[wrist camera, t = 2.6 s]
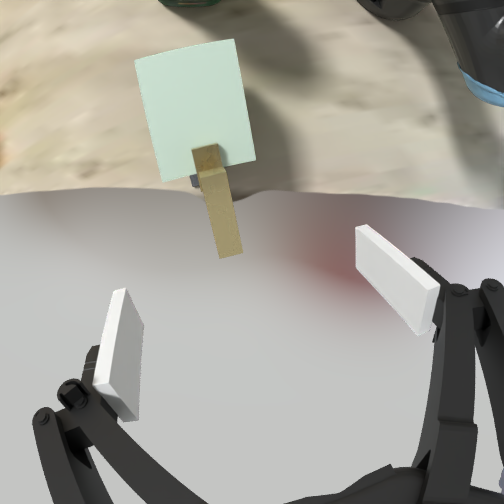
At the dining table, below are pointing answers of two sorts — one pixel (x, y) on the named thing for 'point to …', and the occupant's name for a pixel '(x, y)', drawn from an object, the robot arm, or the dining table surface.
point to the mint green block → (195, 106)
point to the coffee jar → (189, 3)
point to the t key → (217, 199)
